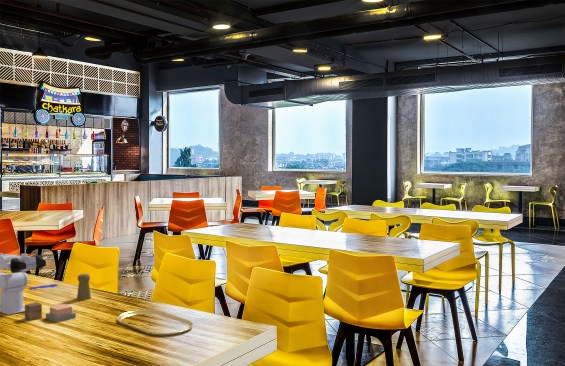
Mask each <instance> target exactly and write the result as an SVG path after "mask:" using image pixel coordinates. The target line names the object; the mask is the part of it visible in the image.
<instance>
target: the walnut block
mask: <svg viewBox="0 0 565 366" xmlns="http://www.w3.org/2000/svg"><path fill="white" fill-rule="evenodd" d="M42 308H43V305H42V304H41V303H39V302H37V301H36V302H30V303H26V304H24V309H25V311H24V319H25V320H28V321H30V322H31V321H34V320H38V319H39V320H40V319H42V318H43V315H42V314H43V312H42V311H43V309H42Z"/></svg>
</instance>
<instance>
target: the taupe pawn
mask: <svg viewBox="0 0 565 366" xmlns="http://www.w3.org/2000/svg"><path fill="white" fill-rule="evenodd" d="M90 279H91V275H90V274H88V273H81V274H79V275H78V276H77V281H78V287H77V295H76V300H78V301H87V300H91V299H92V294H91V289H90V288H91V287H90Z"/></svg>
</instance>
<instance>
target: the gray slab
mask: <svg viewBox="0 0 565 366" xmlns="http://www.w3.org/2000/svg"><path fill="white" fill-rule="evenodd" d="M76 315H77V313H76V312H74V311H72V313H70V314H65V315H61V316H55V315H53V314H50V312H47V313H45V319H47V320H49V321H51V322H53V323H60V322H64V321H68V320H73V319H76V318H77V317H76Z"/></svg>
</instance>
